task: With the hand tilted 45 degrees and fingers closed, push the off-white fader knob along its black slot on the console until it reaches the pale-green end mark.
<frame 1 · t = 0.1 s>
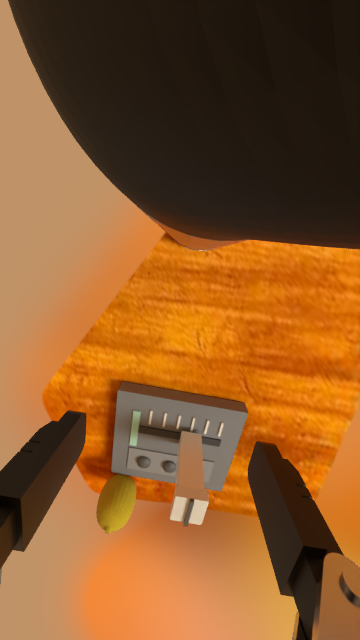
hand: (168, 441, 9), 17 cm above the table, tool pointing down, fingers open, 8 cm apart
console: (174, 433, 32), on the table
lemon: (126, 471, 35), on the table
fader knob: (189, 471, 25), point 7 cm above the table, slide at 0.0 cm
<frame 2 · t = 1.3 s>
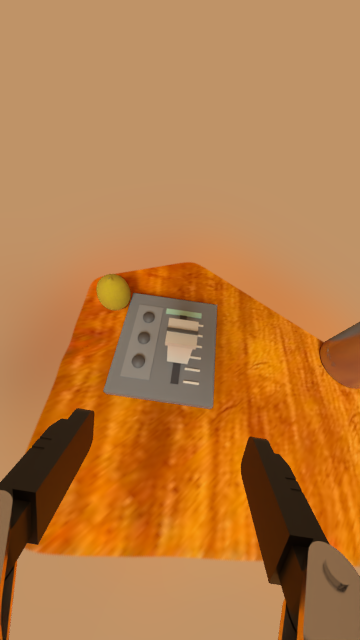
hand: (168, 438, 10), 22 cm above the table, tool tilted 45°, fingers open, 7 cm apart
console: (167, 346, 35), on the table
lemon: (118, 305, 39), on the table
fader knob: (180, 344, 28), point 7 cm above the table, slide at 0.0 cm
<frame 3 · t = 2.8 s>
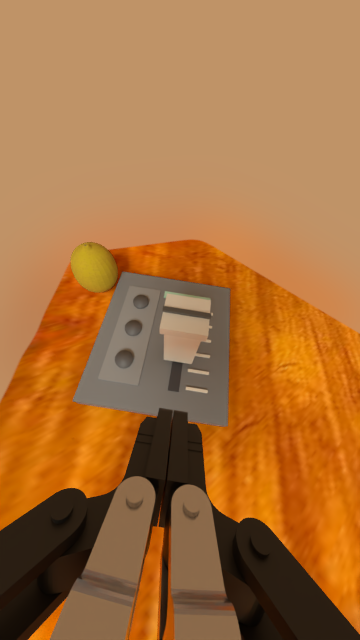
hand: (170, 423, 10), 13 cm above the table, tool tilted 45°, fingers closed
console: (165, 341, 27), on the table
lemon: (103, 288, 30), on the table
fader knob: (182, 334, 20), point 7 cm above the table, slide at 0.0 cm
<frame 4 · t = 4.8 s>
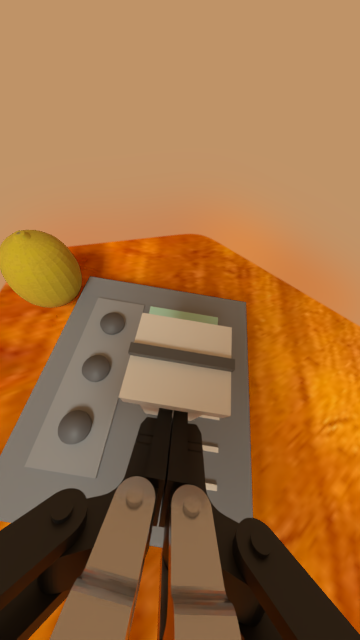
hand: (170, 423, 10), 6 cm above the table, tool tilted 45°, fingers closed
console: (149, 383, 17), on the table
lemon: (64, 300, 21), on the table
fader knob: (175, 382, 11), point 7 cm above the table, slide at 0.9 cm, touching gripper
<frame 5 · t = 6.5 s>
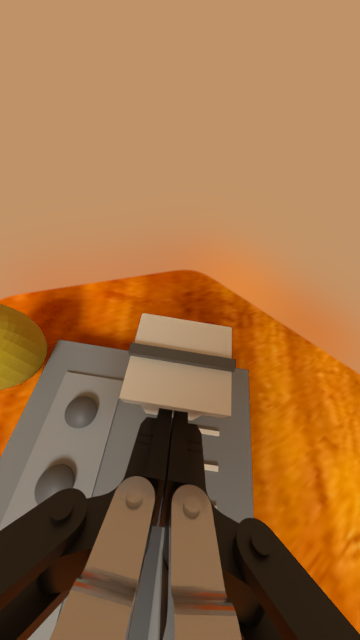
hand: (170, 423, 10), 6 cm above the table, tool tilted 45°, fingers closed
console: (127, 487, 14), on the table
lemon: (29, 365, 18), on the table
fader knob: (175, 382, 11), point 7 cm above the table, slide at 7.9 cm, touching gripper
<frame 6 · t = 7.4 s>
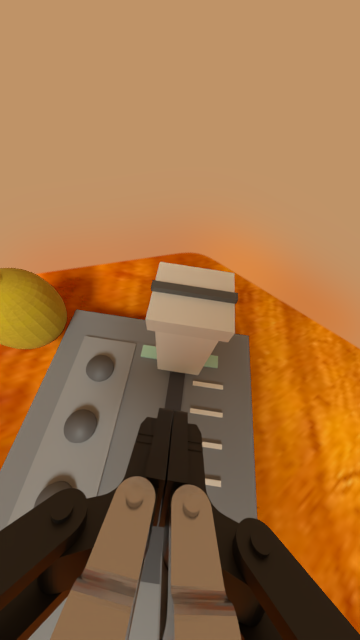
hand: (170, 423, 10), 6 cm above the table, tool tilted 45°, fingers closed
console: (142, 434, 16), on the table
lemon: (49, 334, 19), on the table
fader knob: (185, 332, 13), point 7 cm above the table, slide at 7.9 cm
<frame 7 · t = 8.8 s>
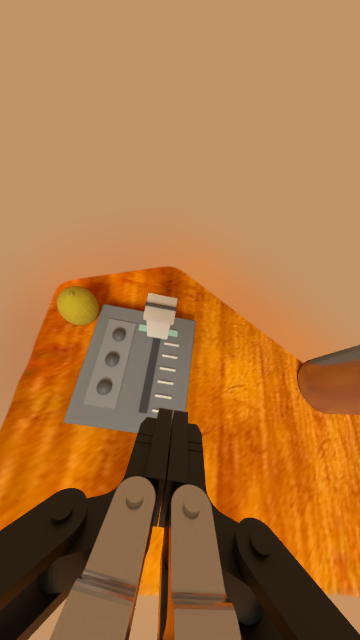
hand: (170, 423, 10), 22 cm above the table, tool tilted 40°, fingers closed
console: (139, 367, 33), on the table
lemon: (87, 317, 35), on the table
fader knob: (159, 319, 29), point 7 cm above the table, slide at 7.9 cm
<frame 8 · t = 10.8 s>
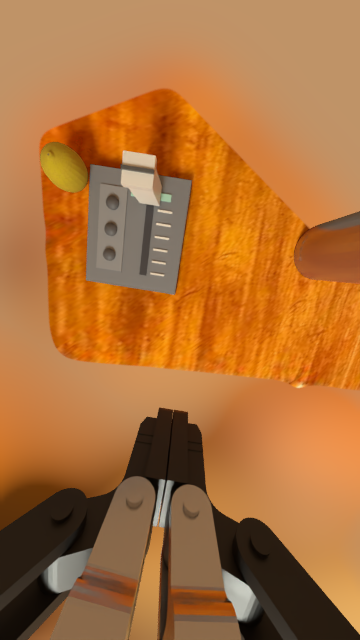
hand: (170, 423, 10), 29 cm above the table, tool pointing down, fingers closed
console: (138, 235, 35), on the table
lemon: (80, 181, 34), on the table
fader knob: (145, 183, 27), point 7 cm above the table, slide at 7.9 cm
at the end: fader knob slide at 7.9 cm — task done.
